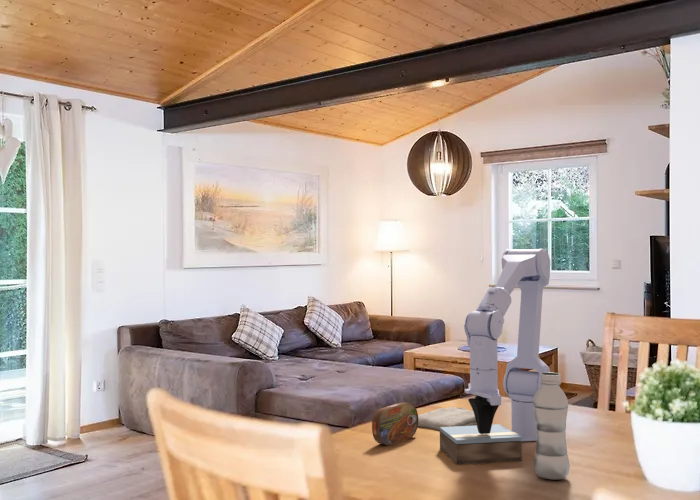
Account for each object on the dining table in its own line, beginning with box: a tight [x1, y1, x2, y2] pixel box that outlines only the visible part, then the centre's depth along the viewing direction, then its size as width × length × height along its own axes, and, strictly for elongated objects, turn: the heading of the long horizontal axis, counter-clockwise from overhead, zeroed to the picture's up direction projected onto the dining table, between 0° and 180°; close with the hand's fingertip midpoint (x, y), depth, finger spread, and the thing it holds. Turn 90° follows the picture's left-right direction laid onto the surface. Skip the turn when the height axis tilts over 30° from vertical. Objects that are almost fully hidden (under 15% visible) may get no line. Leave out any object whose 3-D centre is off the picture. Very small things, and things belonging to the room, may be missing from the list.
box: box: [439, 430, 523, 466], centre depth 156 cm, size 14×12×4 cm
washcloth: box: [418, 406, 477, 431], centre depth 186 cm, size 12×18×3 cm, turn 140°
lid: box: [439, 423, 523, 444], centre depth 156 cm, size 14×12×1 cm
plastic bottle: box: [533, 371, 571, 481], centre depth 140 cm, size 6×7×20 cm
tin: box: [371, 402, 419, 446], centre depth 168 cm, size 15×3×8 cm, turn 139°
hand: (484, 433), depth 153 cm, fingers closed
